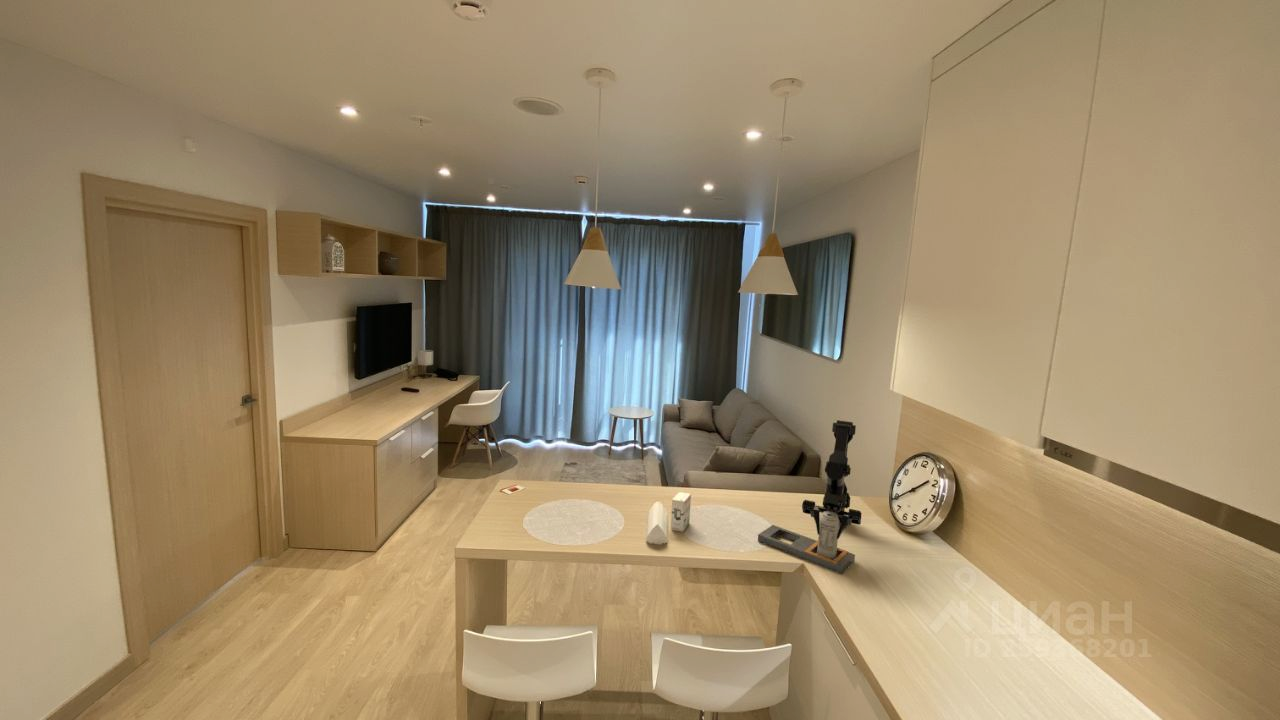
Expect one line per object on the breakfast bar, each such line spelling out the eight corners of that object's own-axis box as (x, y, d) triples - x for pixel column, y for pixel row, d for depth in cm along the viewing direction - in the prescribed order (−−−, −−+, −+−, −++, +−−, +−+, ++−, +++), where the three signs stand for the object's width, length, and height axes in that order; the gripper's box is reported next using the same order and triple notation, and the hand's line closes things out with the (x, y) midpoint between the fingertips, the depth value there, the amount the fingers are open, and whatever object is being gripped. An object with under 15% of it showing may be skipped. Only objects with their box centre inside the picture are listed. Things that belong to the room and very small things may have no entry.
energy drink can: (839, 557, 171) (843, 515, 169) (830, 563, 167) (834, 520, 165) (822, 550, 176) (826, 508, 173) (813, 555, 172) (817, 513, 169)
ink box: (677, 520, 196) (679, 491, 195) (689, 522, 195) (691, 493, 193) (670, 529, 189) (671, 499, 187) (683, 532, 187) (684, 501, 185)
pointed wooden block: (643, 505, 199) (640, 534, 176) (660, 498, 199) (659, 526, 175) (652, 521, 200) (650, 553, 176) (668, 514, 199) (669, 544, 176)
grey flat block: (757, 541, 182) (758, 533, 182) (772, 531, 190) (772, 524, 190) (842, 574, 162) (842, 566, 162) (854, 561, 170) (855, 553, 170)
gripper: (805, 477, 175) (797, 520, 167) (864, 488, 167) (859, 534, 159) (806, 491, 183) (799, 532, 175) (862, 502, 175) (858, 546, 167)
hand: (827, 536), depth 169 cm, fingers closed on energy drink can, 6 cm apart
